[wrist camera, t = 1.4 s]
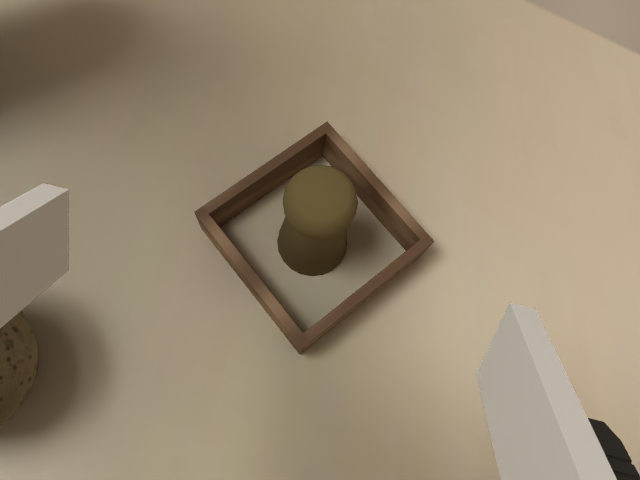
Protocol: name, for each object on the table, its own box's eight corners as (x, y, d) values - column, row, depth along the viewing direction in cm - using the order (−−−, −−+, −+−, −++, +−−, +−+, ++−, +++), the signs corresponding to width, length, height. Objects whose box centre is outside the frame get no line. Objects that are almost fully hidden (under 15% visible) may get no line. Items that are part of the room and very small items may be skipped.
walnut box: (201, 228, 44) (194, 212, 41) (323, 144, 48) (327, 121, 44) (299, 354, 42) (301, 348, 38) (421, 255, 45) (434, 241, 41)
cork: (264, 232, 45) (259, 179, 34) (321, 197, 46) (332, 136, 36) (303, 289, 44) (310, 252, 33) (360, 251, 45) (384, 204, 34)
